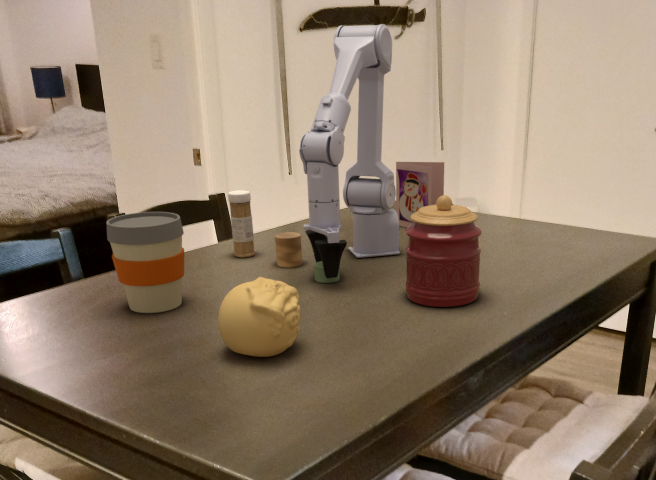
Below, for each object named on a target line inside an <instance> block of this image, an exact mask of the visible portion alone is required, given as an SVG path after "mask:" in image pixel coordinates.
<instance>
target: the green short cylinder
mask: <svg viewBox="0 0 656 480" xmlns="http://www.w3.org/2000/svg"><path fill="white" fill-rule="evenodd" d="M313 270H314V281H315V282H317V283H322V284H329V283H336V282H339V281H340V279H341V274H340V271H341V270H340V266H339V271H338V276H337V277H336V278H326V276H325V273H324V269H323V263H322V261H320V262H317V263H316V262H315V263H314V264H313Z"/></svg>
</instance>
